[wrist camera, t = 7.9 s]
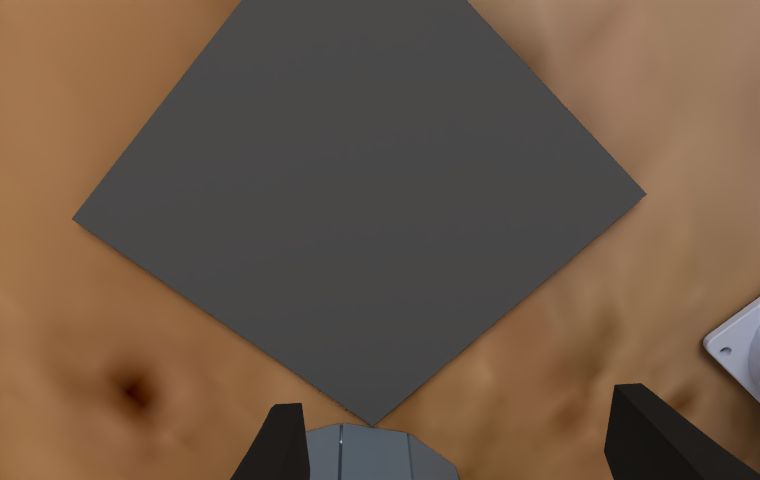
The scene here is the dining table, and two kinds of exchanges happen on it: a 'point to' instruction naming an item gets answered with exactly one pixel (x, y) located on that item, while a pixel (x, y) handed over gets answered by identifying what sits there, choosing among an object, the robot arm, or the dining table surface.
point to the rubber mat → (358, 188)
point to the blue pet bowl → (373, 455)
